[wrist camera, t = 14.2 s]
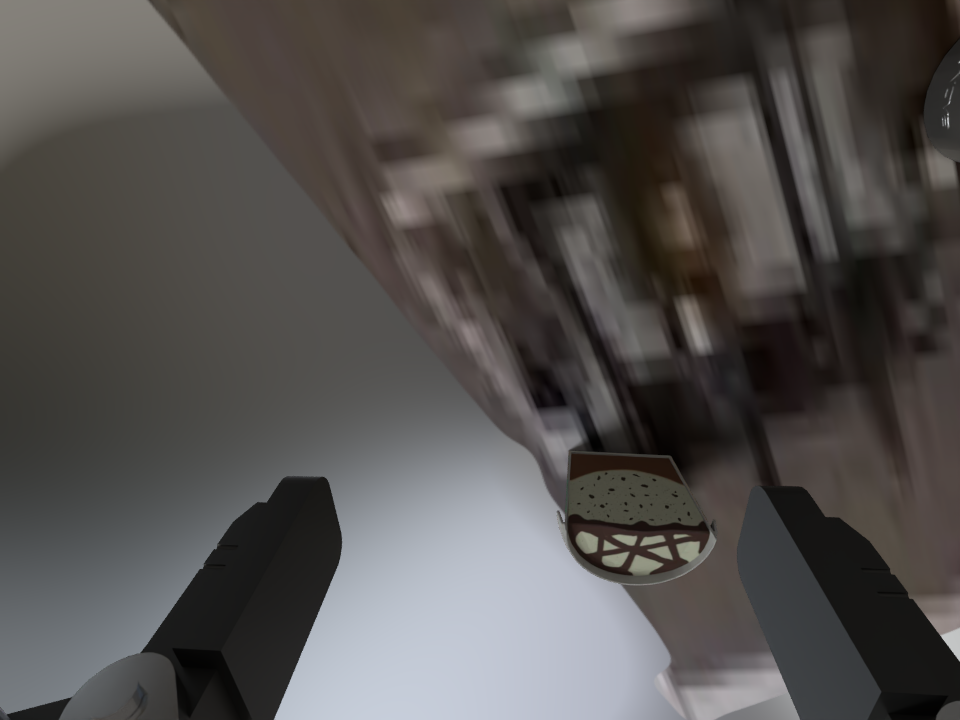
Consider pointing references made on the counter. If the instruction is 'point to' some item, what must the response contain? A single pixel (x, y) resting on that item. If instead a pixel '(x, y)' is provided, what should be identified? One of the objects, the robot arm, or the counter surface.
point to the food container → (633, 518)
